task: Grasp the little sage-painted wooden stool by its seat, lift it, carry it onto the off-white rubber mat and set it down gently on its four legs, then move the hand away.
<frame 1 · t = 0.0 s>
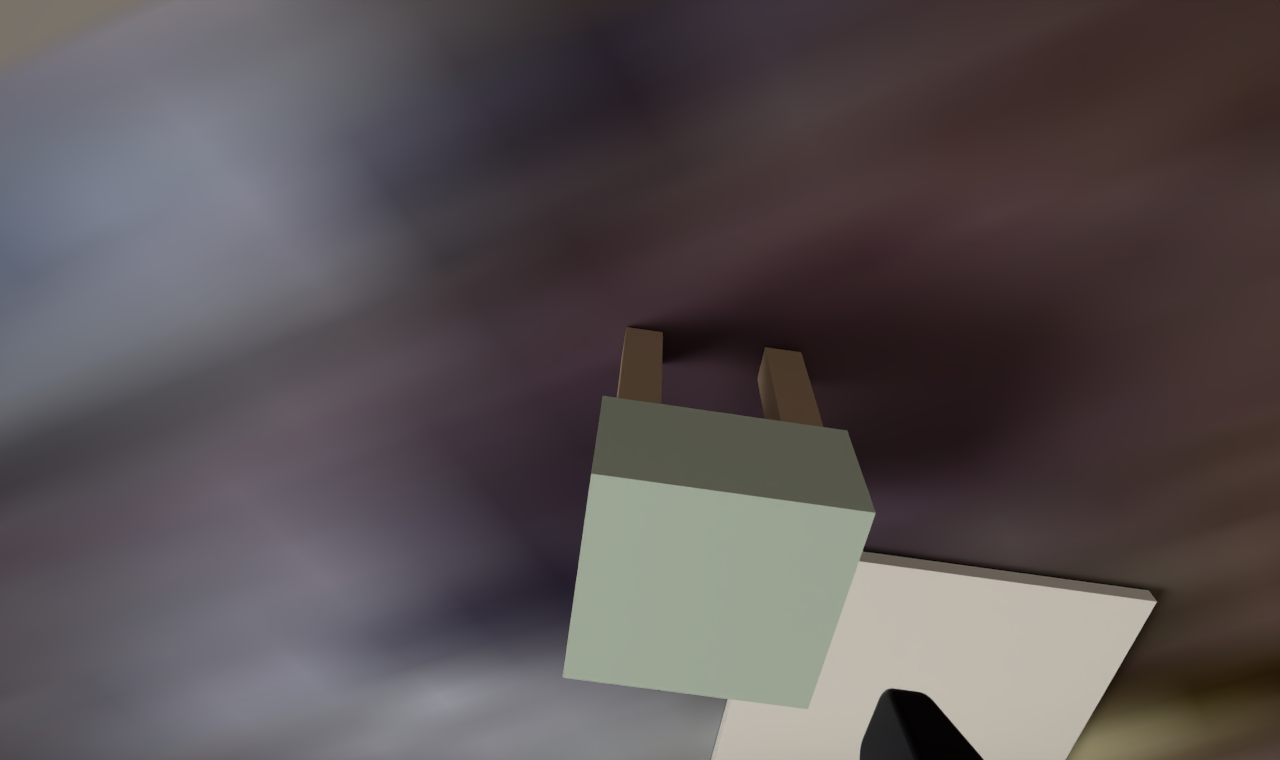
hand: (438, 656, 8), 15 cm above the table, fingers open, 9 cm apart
stool: (698, 415, 24), on the table
mat: (905, 698, 29), on the table
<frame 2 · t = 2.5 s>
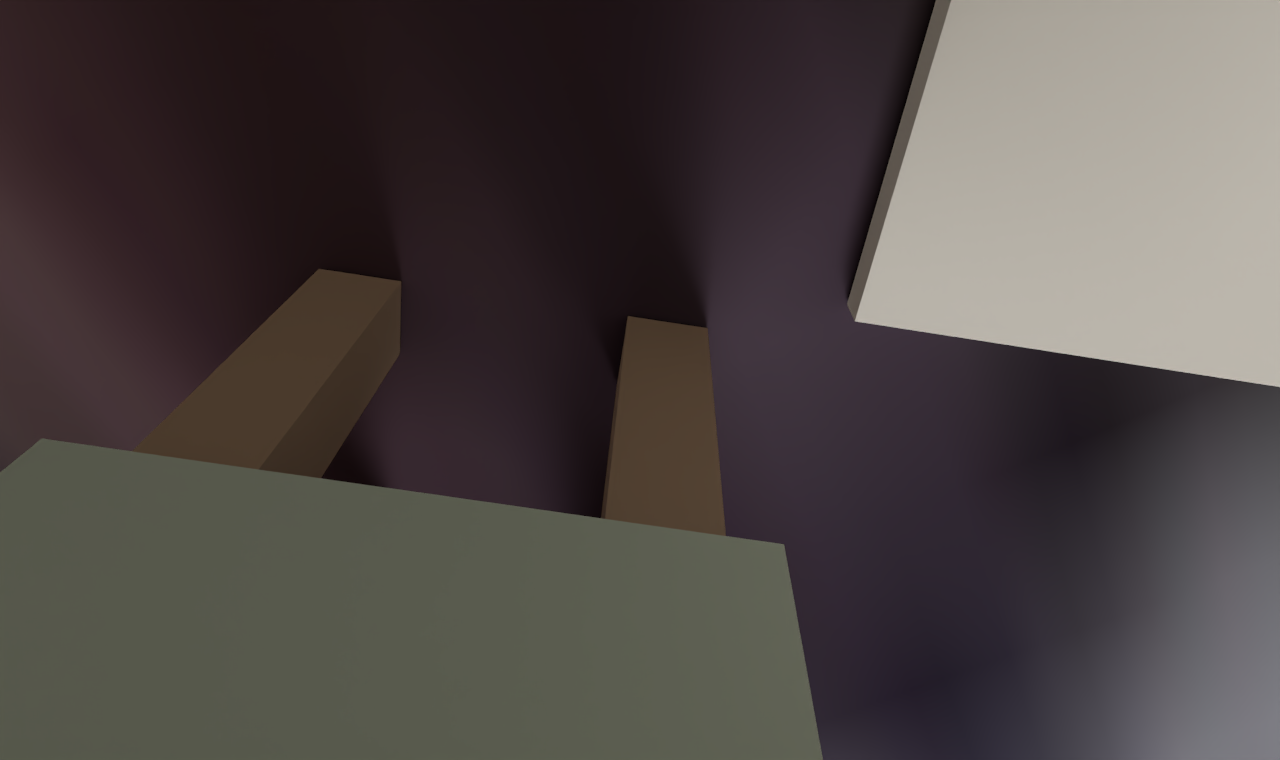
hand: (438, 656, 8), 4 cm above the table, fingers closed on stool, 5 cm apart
stool: (501, 459, 12), on the table, touching gripper
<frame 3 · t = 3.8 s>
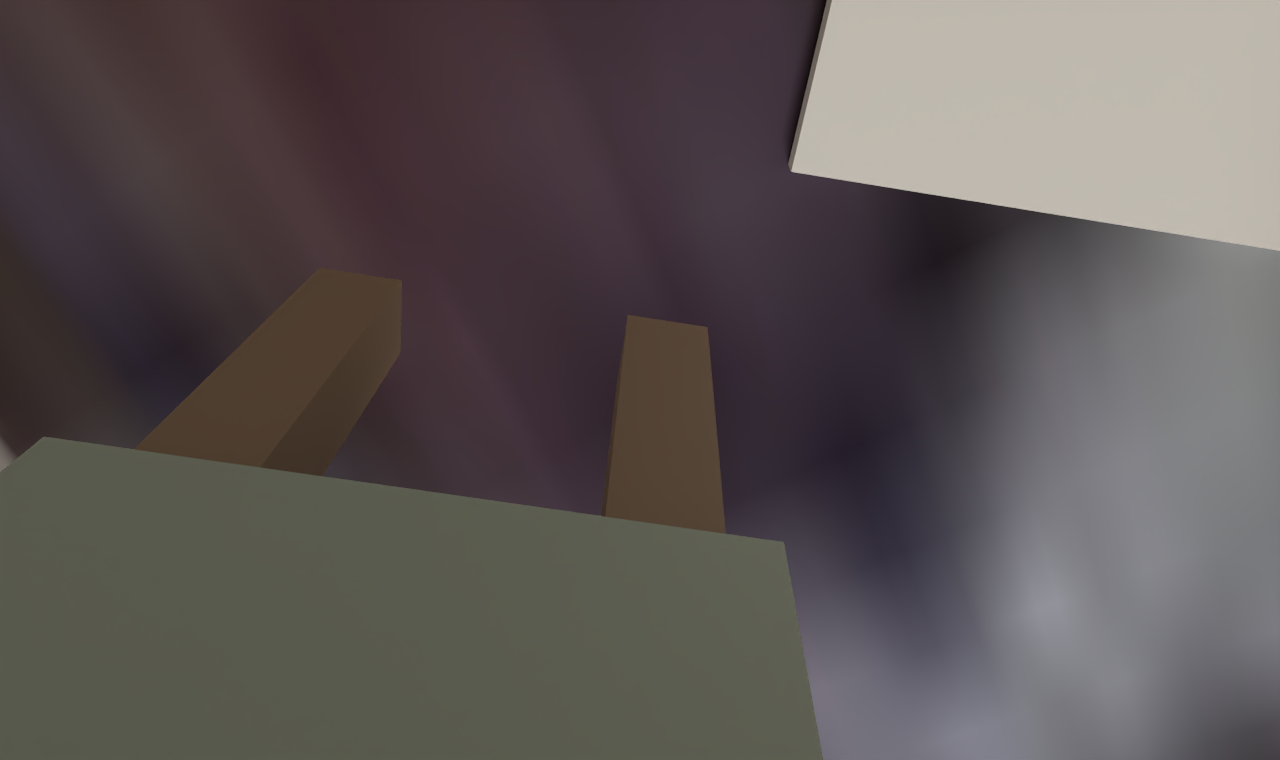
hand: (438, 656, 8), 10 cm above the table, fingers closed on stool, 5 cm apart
stool: (501, 458, 12), point 7 cm above the table, touching gripper
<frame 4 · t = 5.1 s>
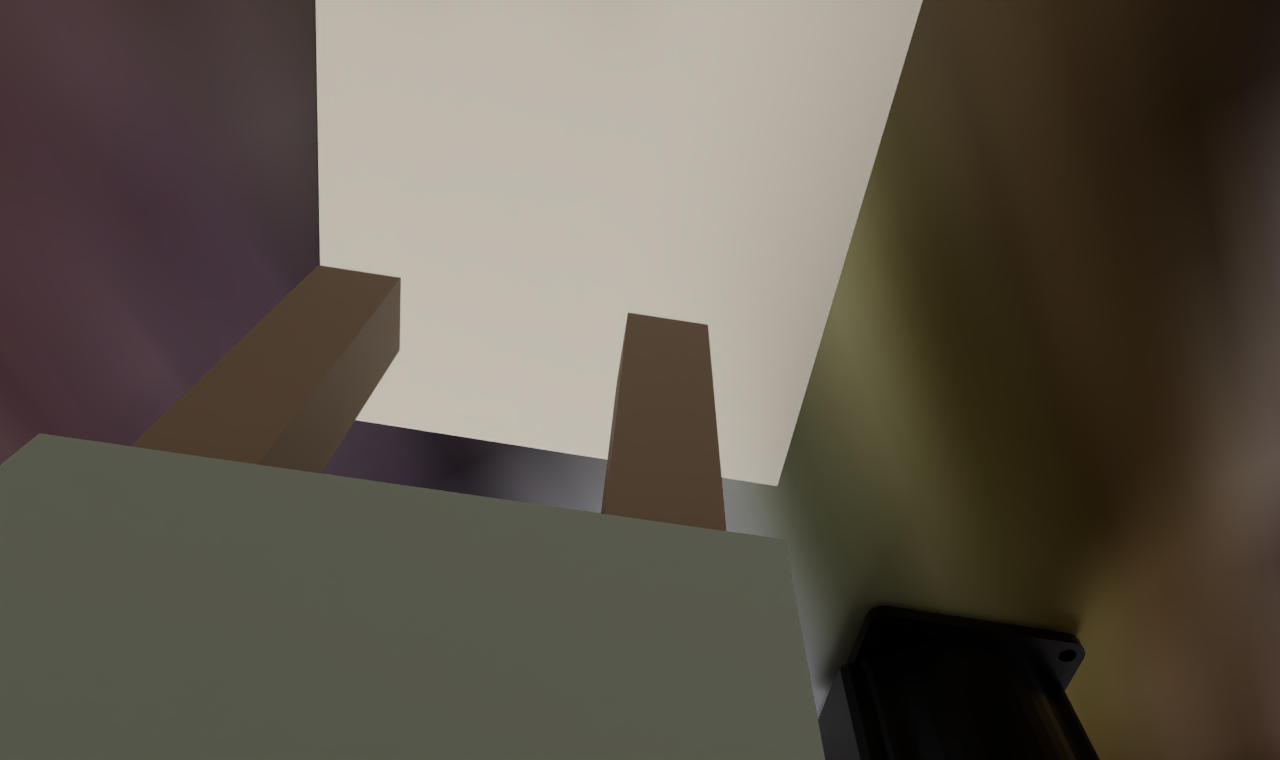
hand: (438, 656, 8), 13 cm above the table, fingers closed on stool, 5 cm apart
stool: (500, 456, 11), point 9 cm above the table, touching gripper
mat: (585, 226, 20), on the table
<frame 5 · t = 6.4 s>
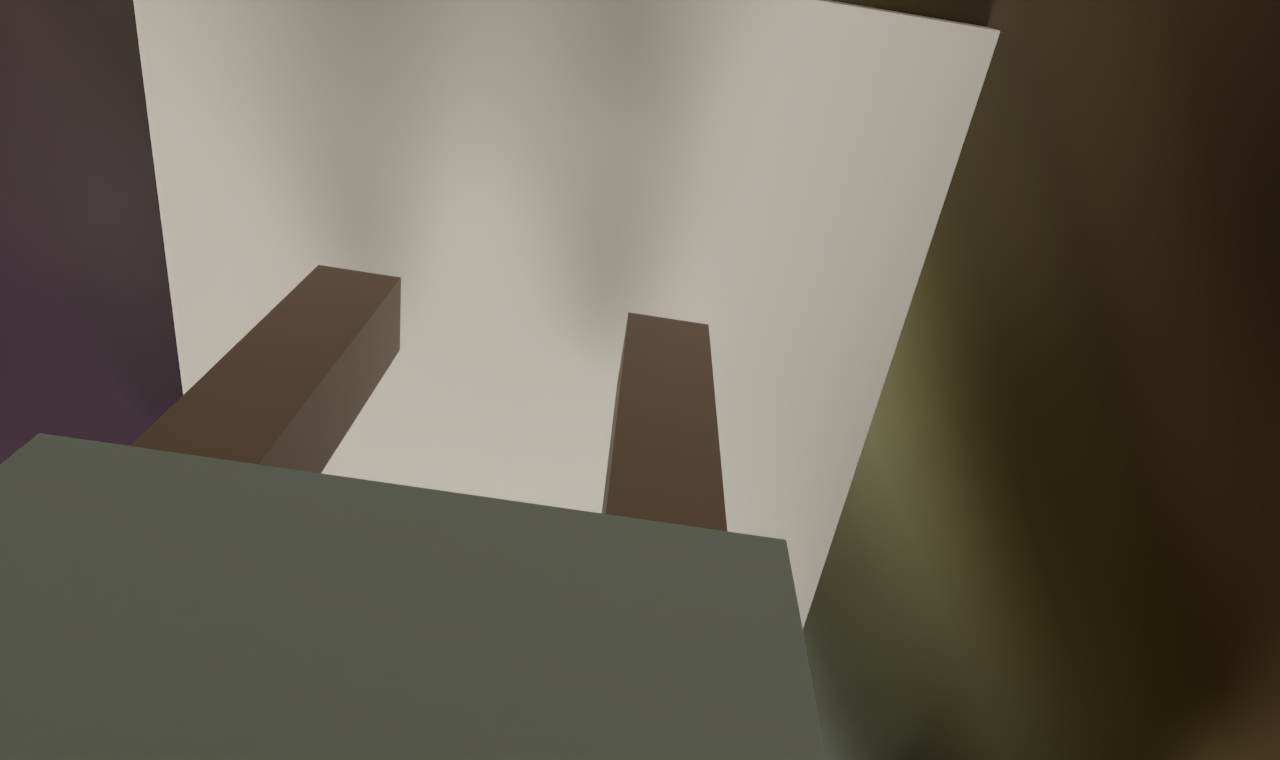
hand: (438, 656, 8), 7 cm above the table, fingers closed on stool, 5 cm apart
stool: (501, 456, 11), point 4 cm above the table, touching gripper
mat: (534, 338, 15), on the table
when the fingers open (5 cm above the table, at t = 7.7 s): stool drops 1 cm, resting on mat.
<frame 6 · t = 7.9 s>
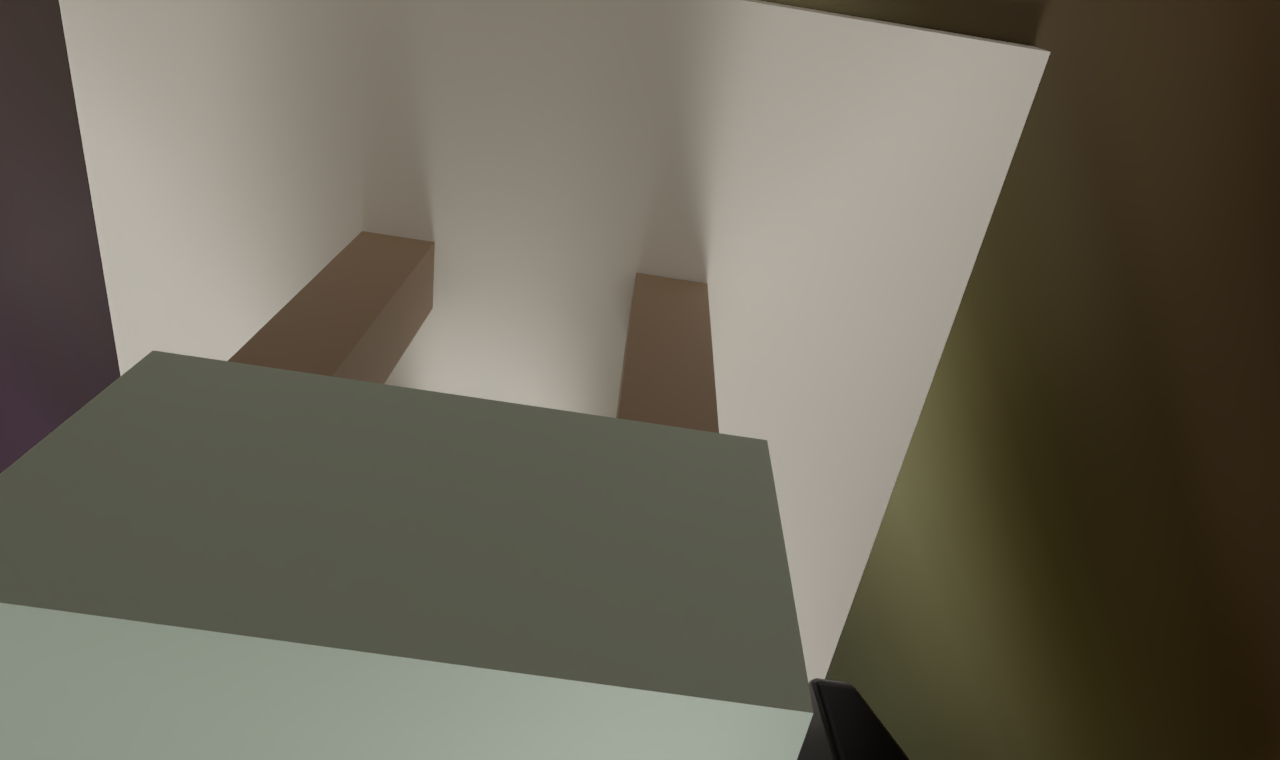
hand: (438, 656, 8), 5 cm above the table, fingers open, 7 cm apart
stool: (522, 406, 13), point 1 cm above the table, touching mat
mat: (522, 388, 13), on the table
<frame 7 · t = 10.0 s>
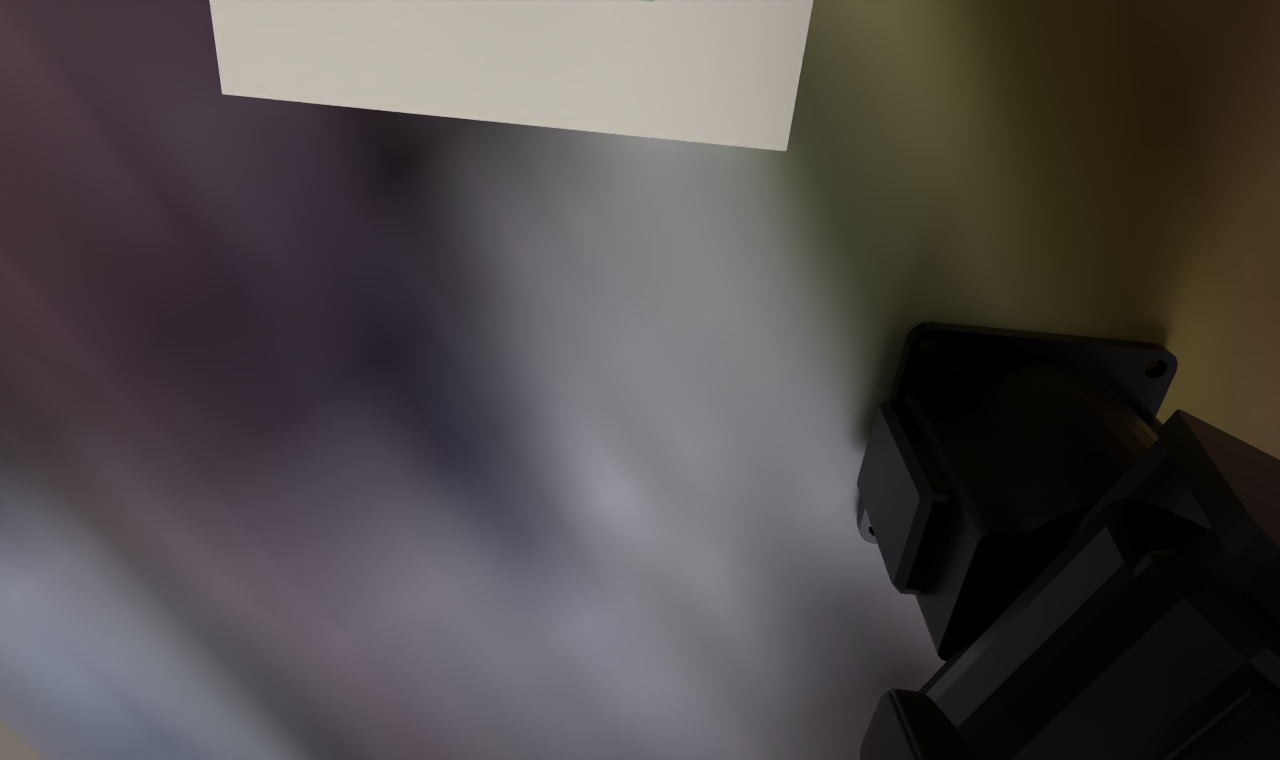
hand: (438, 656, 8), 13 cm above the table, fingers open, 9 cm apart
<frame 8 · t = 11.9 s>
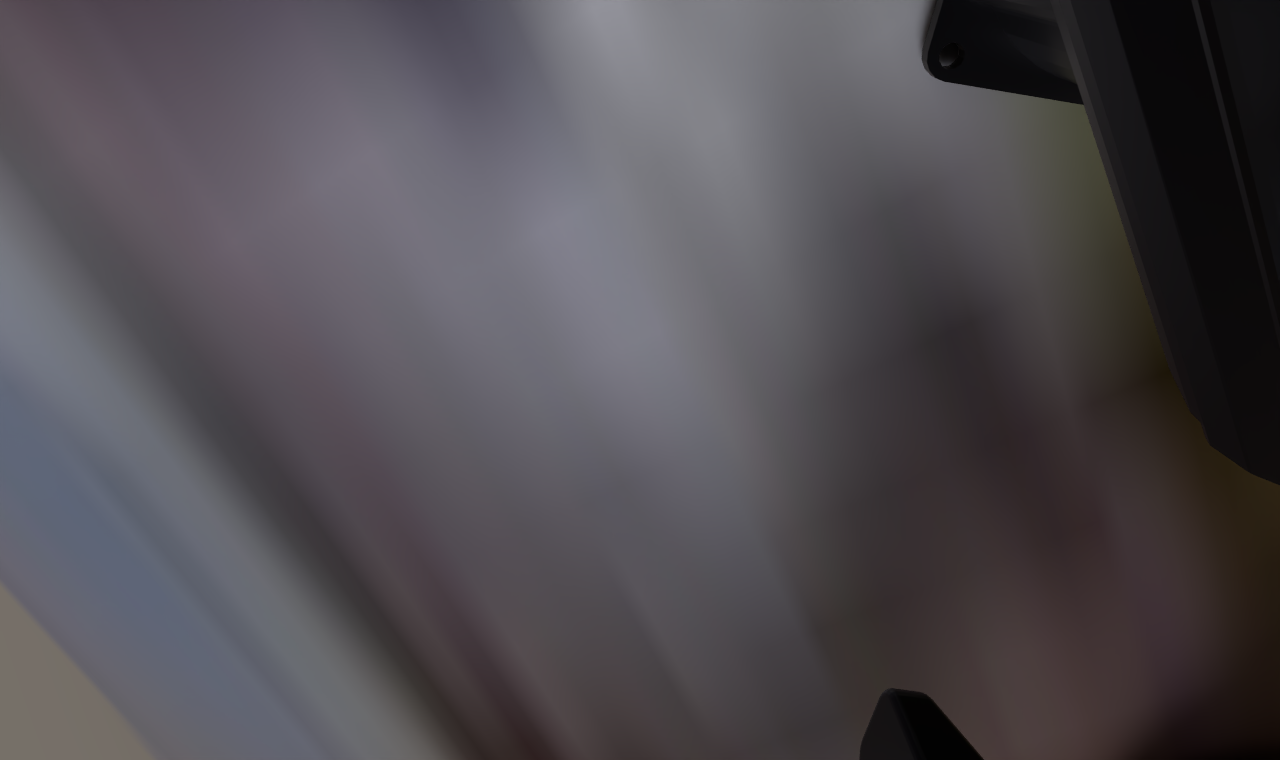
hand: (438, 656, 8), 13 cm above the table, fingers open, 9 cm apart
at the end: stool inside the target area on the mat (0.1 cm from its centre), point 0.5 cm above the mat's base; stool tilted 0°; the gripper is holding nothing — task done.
